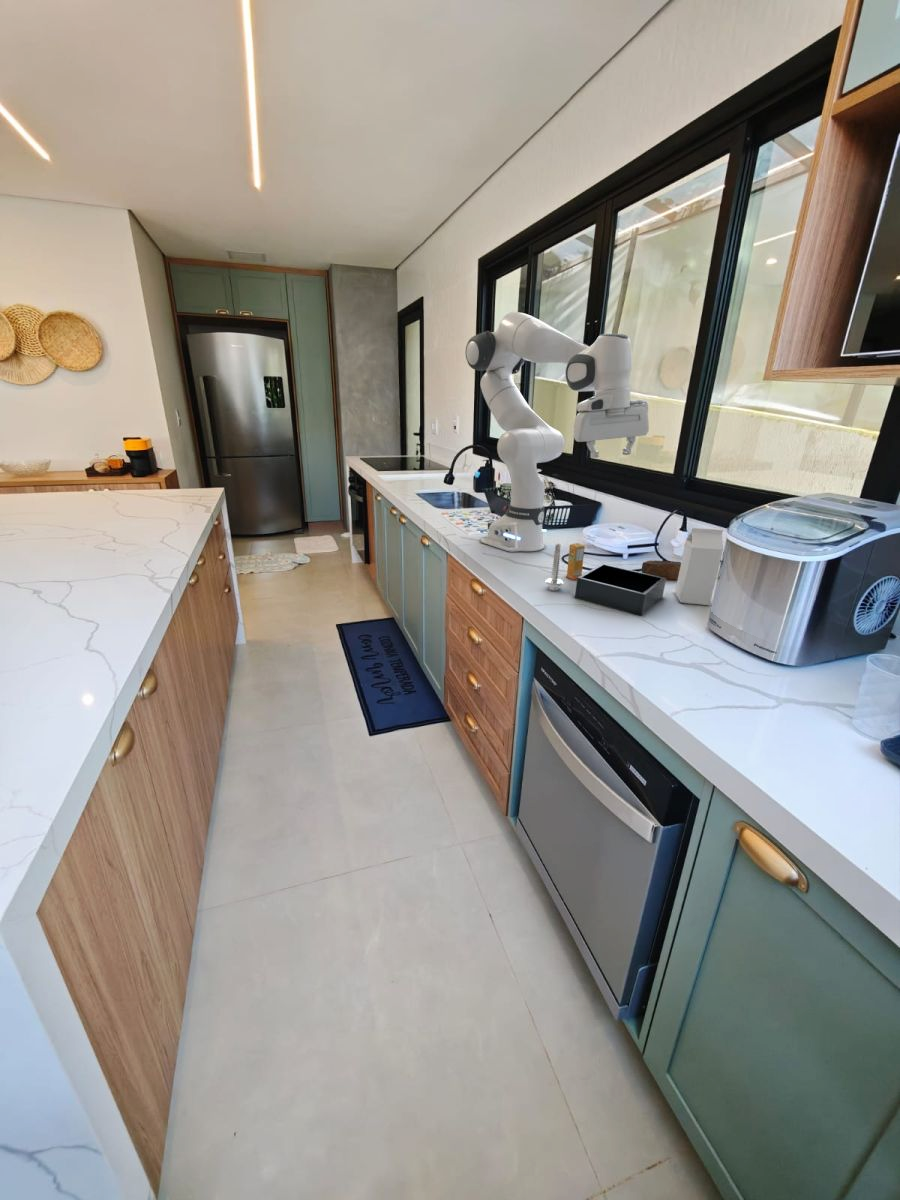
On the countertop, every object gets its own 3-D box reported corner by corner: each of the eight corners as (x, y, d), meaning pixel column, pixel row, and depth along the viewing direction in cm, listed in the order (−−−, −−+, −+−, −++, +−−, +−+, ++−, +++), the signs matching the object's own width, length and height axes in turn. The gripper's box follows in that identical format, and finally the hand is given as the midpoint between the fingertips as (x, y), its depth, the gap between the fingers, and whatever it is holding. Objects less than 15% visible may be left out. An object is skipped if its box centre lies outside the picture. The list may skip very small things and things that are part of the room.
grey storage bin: (574, 597, 132) (577, 577, 130) (599, 582, 143) (602, 563, 141) (641, 616, 122) (645, 594, 120) (662, 597, 133) (666, 578, 131)
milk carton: (709, 605, 128) (727, 533, 121) (680, 603, 130) (695, 531, 122) (702, 595, 135) (718, 526, 128) (674, 593, 136) (689, 524, 129)
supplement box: (565, 576, 147) (568, 543, 143) (574, 575, 148) (578, 542, 144) (572, 580, 144) (576, 546, 140) (581, 578, 145) (586, 545, 141)
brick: (677, 576, 149) (680, 561, 147) (681, 580, 145) (684, 565, 143) (640, 573, 151) (643, 558, 149) (642, 578, 147) (645, 562, 145)
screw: (563, 587, 139) (561, 593, 135) (545, 584, 140) (543, 590, 136) (568, 541, 134) (566, 546, 130) (550, 539, 135) (547, 544, 131)
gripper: (641, 399, 136) (639, 452, 141) (571, 405, 133) (571, 459, 138) (655, 398, 130) (652, 453, 135) (581, 404, 127) (581, 460, 132)
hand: (610, 456), depth 136 cm, fingers open, 8 cm apart
